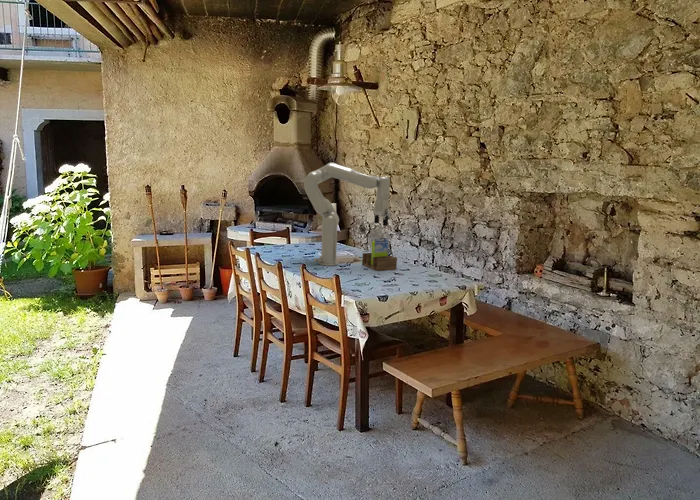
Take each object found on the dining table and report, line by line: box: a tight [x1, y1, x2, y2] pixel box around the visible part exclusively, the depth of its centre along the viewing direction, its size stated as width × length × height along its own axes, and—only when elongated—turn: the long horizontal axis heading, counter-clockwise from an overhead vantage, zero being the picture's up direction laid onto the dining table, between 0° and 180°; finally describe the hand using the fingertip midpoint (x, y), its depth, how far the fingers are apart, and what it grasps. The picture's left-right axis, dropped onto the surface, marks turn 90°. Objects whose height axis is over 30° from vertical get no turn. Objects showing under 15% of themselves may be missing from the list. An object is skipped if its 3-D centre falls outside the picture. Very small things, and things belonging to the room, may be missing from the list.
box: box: [371, 237, 389, 265], centre depth 351 cm, size 10×4×17 cm, turn 121°
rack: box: [361, 252, 398, 272], centre depth 352 cm, size 18×14×8 cm
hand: (380, 224), depth 348 cm, fingers open, 9 cm apart
